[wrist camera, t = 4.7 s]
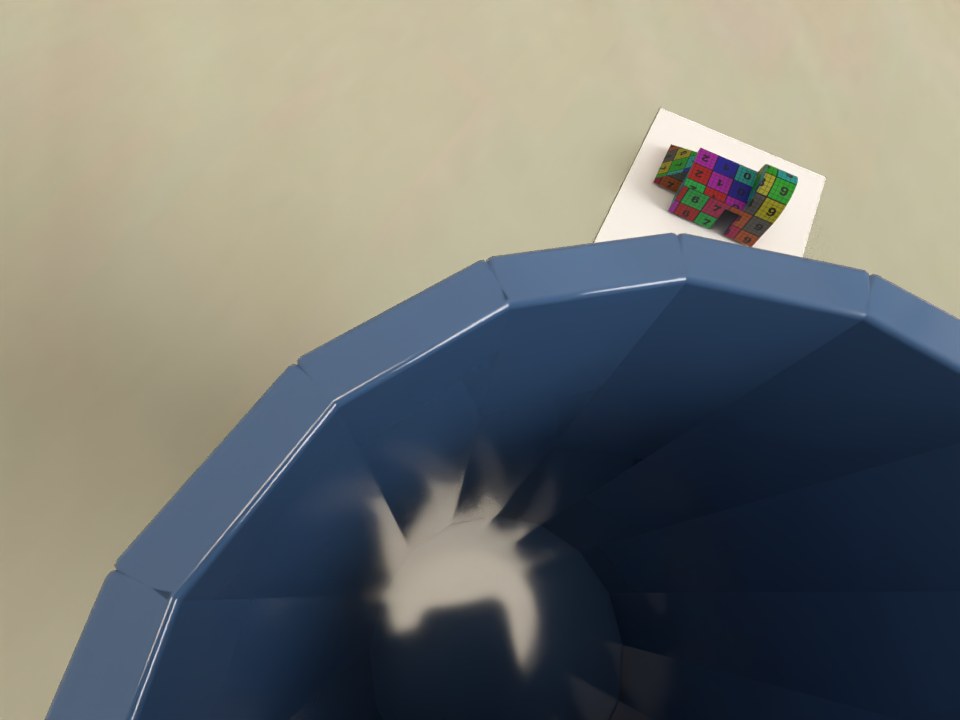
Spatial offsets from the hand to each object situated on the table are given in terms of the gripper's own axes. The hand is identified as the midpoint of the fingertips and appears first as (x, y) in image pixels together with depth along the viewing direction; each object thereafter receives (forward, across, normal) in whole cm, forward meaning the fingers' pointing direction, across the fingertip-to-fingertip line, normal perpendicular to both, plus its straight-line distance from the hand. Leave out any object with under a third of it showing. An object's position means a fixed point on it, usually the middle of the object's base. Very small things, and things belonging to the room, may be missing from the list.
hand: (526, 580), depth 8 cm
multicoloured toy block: (+13, -11, -3) cm, 17 cm away
